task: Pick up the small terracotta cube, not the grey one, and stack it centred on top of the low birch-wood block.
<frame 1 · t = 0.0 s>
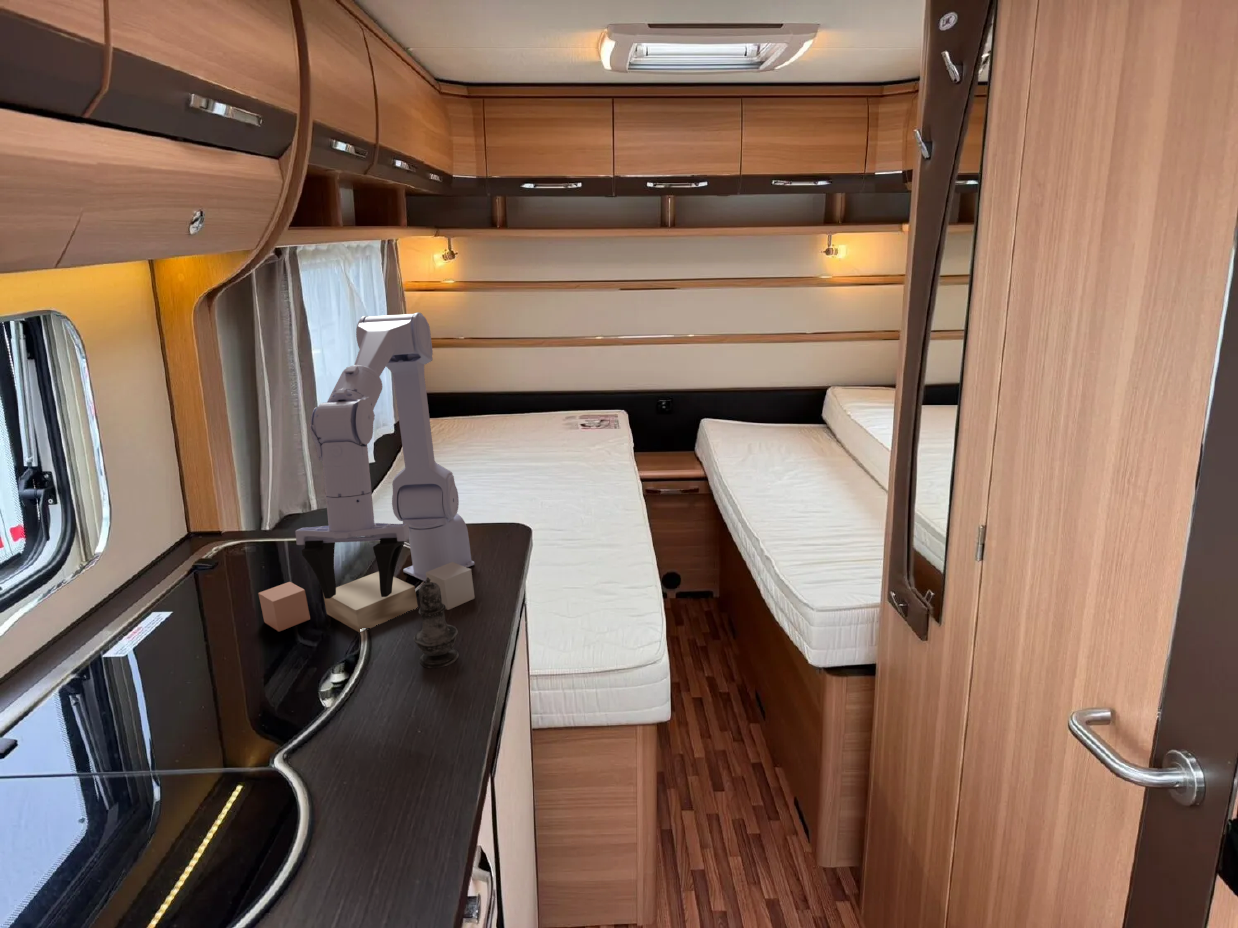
hand: (358, 595, 114), 11 cm above the table, tool pointing down, fingers open, 7 cm apart
terracotta cube: (287, 621, 132), on the table
birch block: (372, 612, 133), on the table
grey cube: (452, 600, 135), on the table
dark tall tiered piece: (439, 659, 118), on the table
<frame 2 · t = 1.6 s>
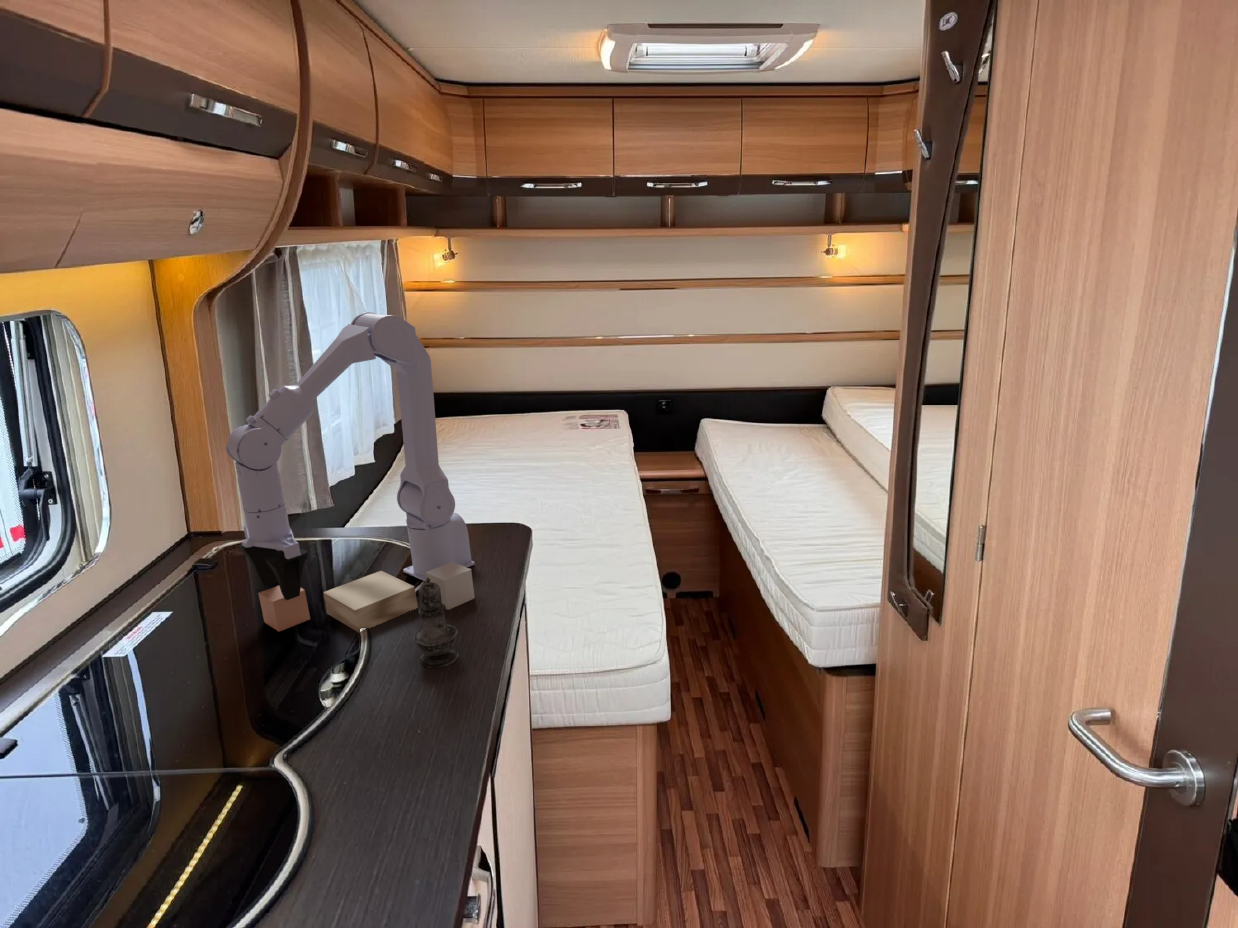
hand: (280, 590, 131), 5 cm above the table, tool pointing down, fingers open, 7 cm apart
nothing on the table moved.
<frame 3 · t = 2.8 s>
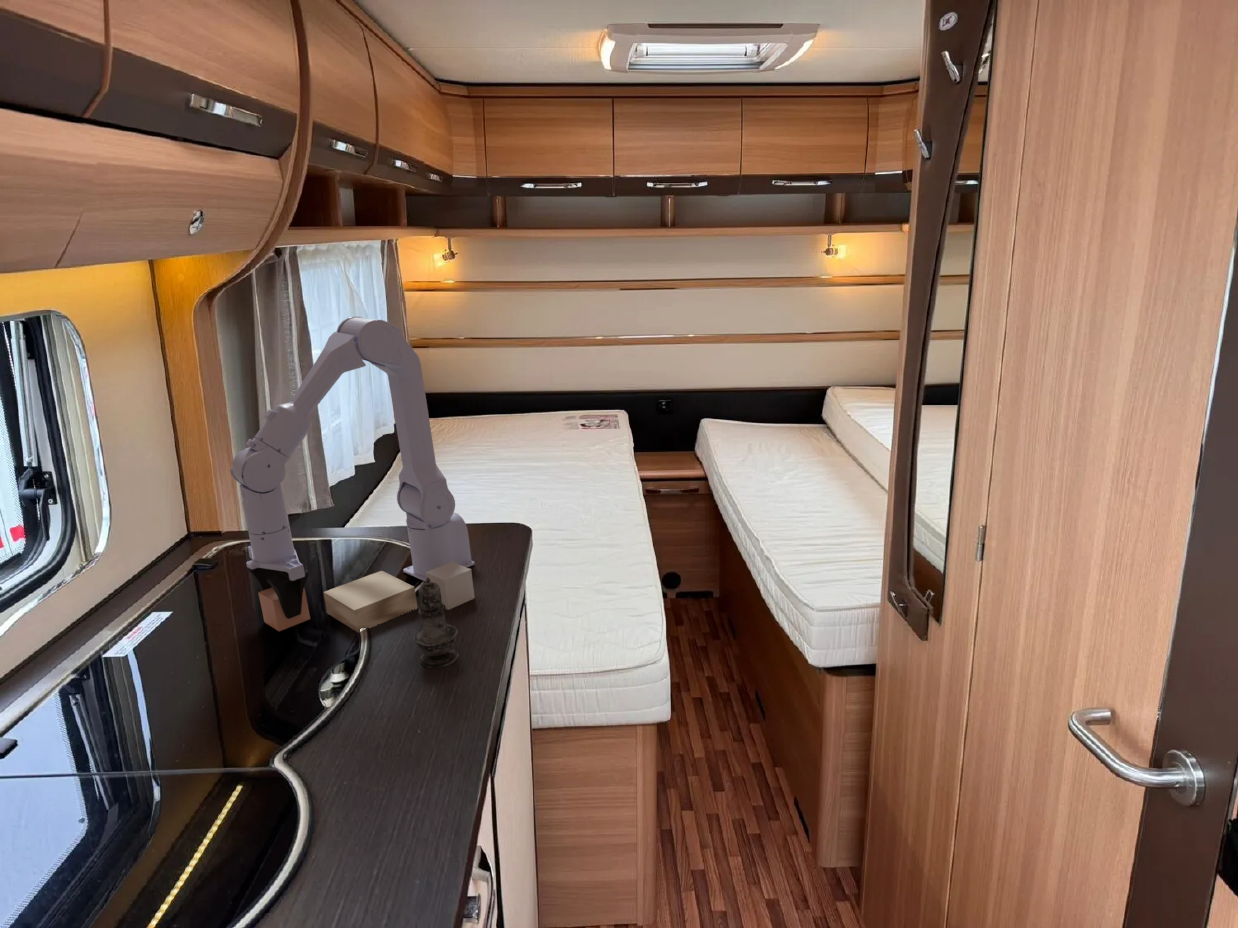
hand: (285, 610, 132), 2 cm above the table, tool pointing down, fingers closed on terracotta cube, 5 cm apart
terracotta cube: (287, 620, 132), on the table, touching gripper
everything else where it was.
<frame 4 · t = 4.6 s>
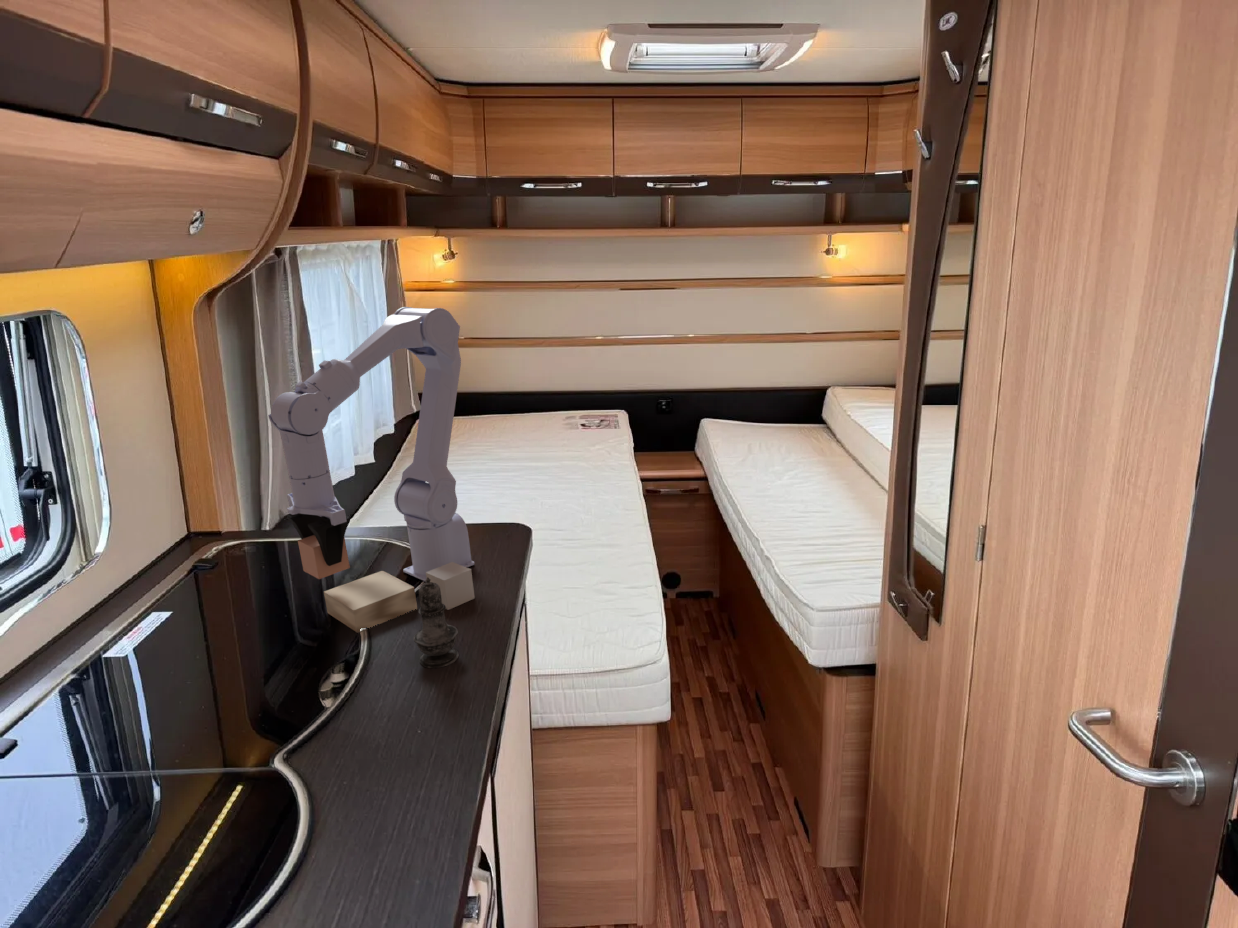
hand: (325, 558, 130), 9 cm above the table, tool pointing down, fingers closed on terracotta cube, 5 cm apart
terracotta cube: (326, 569, 131), point 8 cm above the table, touching gripper
everything else where it was.
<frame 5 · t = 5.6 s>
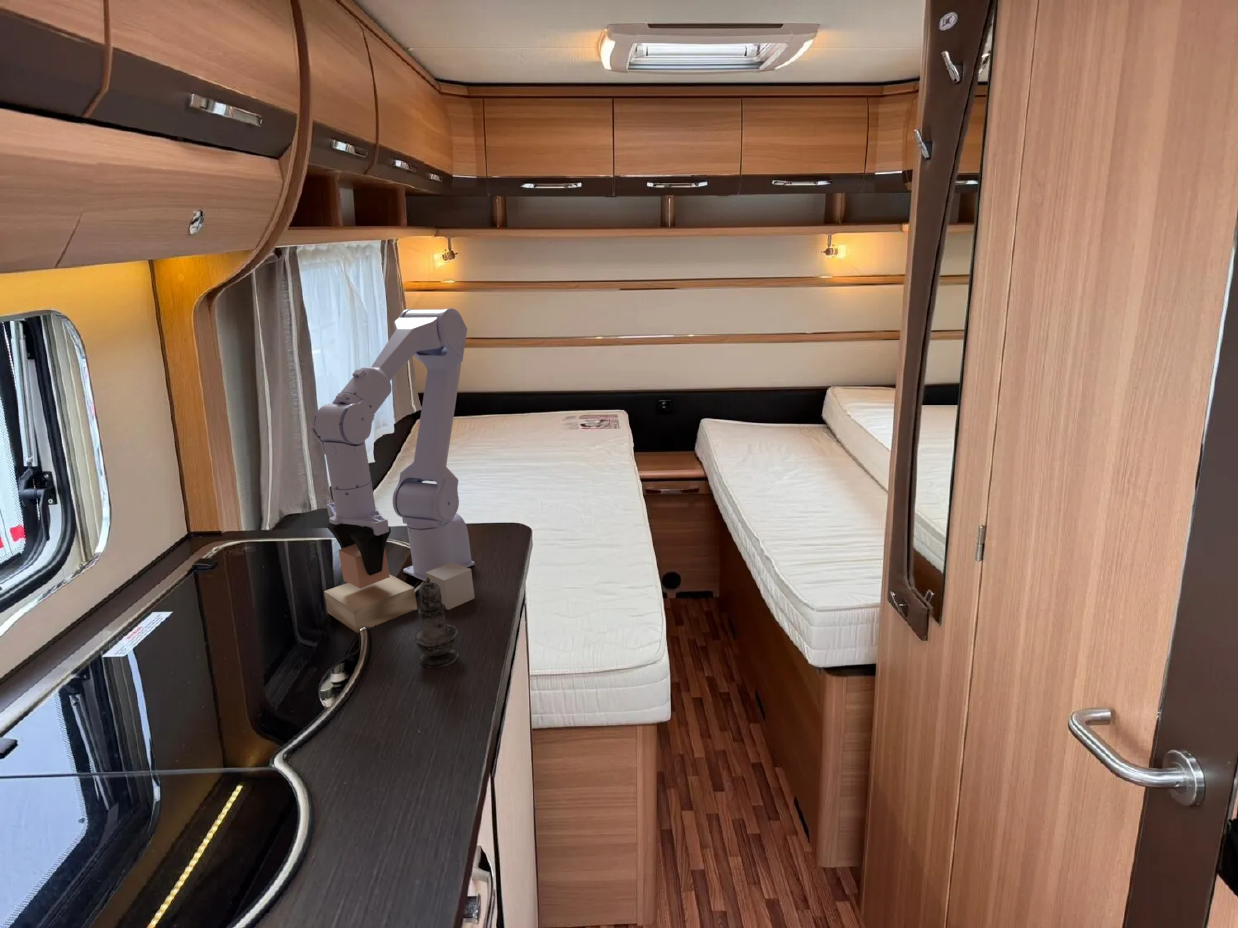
hand: (365, 568, 131), 7 cm above the table, tool pointing down, fingers closed on terracotta cube, 5 cm apart
terracotta cube: (366, 578, 132), point 5 cm above the table, touching gripper
everything else where it was.
when the fingers open (7 cm above the table, at t = 6.3 s): terracotta cube drops 2 cm, resting on birch block.
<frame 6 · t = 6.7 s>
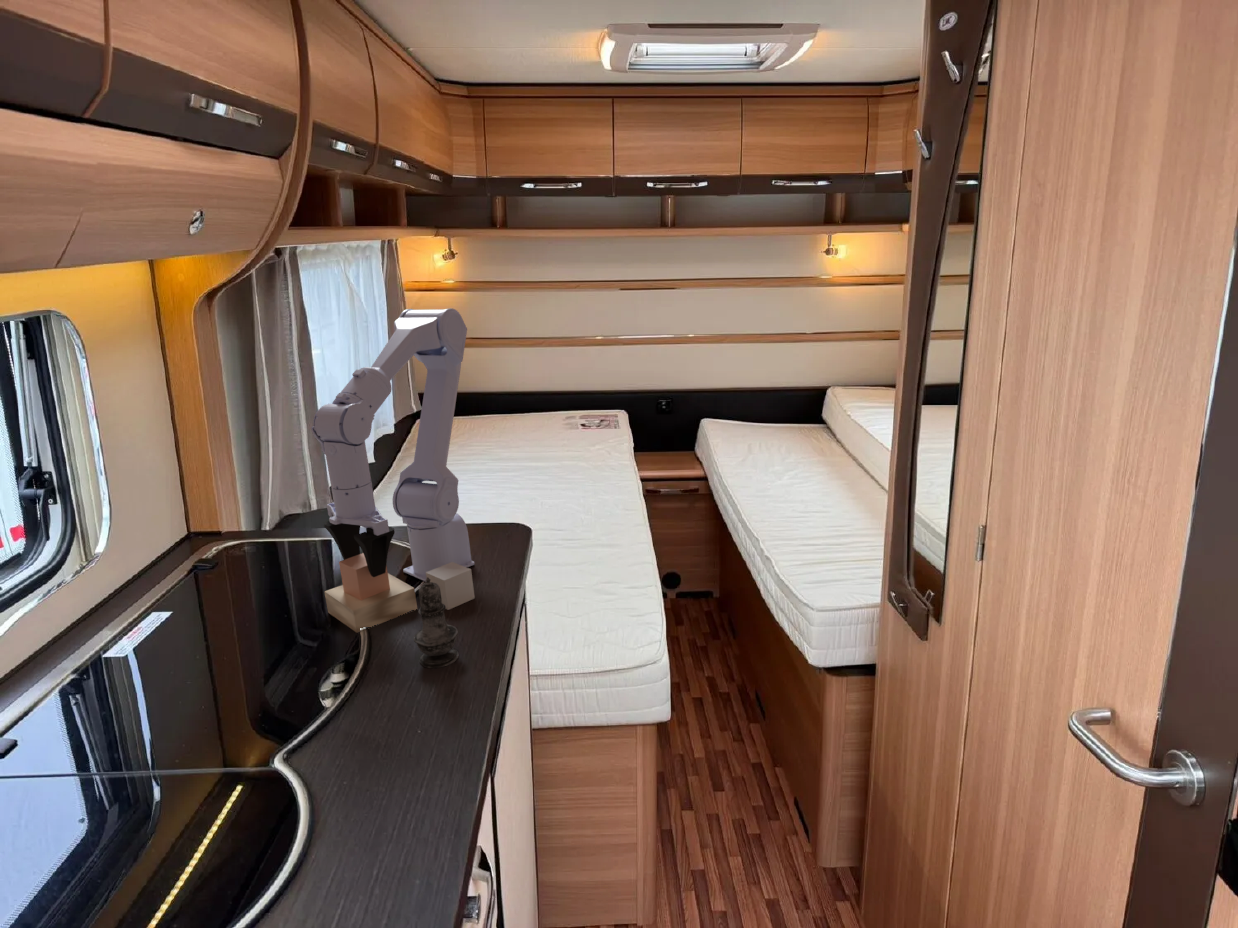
hand: (365, 568, 131), 7 cm above the table, tool pointing down, fingers open, 7 cm apart
terracotta cube: (367, 590, 132), point 4 cm above the table, touching birch block
birch block: (373, 613, 134), on the table, touching terracotta cube
everything else where it was.
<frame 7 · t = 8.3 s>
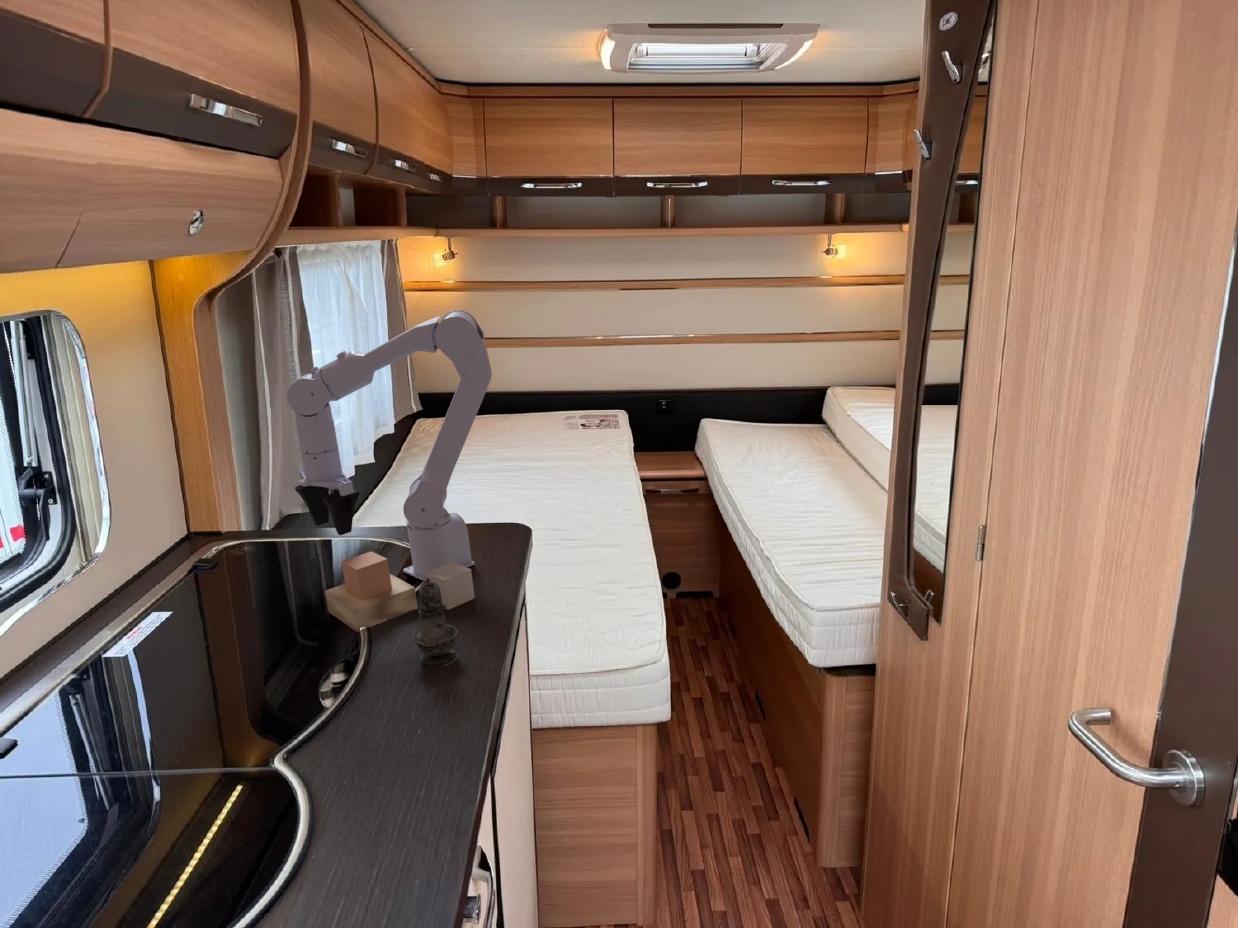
hand: (333, 528, 143), 9 cm above the table, tool pointing down, fingers open, 7 cm apart
nothing on the table moved.
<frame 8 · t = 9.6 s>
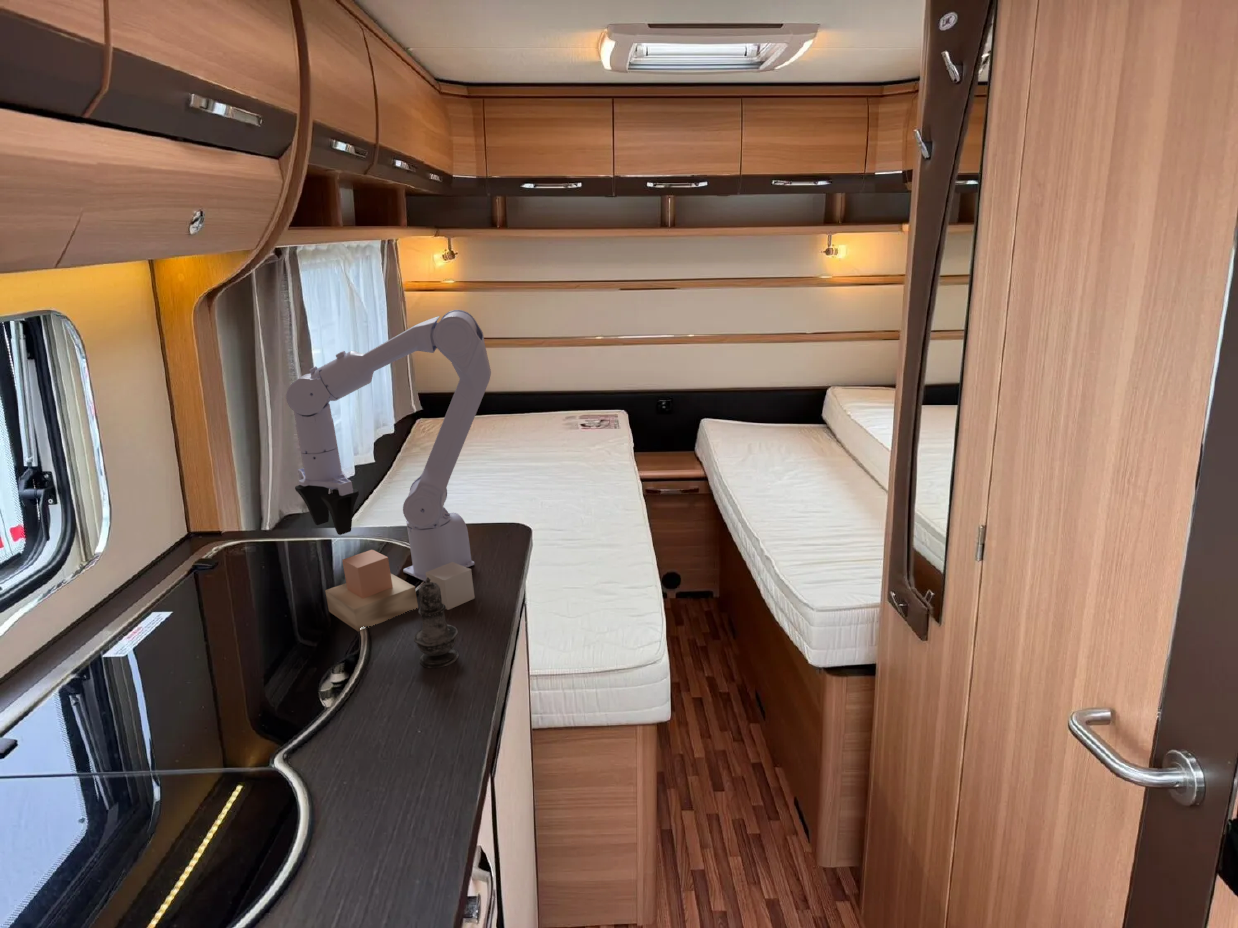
hand: (333, 527, 143), 9 cm above the table, tool pointing down, fingers open, 7 cm apart
terracotta cube: (370, 588, 133), point 4 cm above the table
birch block: (373, 612, 134), on the table
everything else where it was.
at the end: terracotta cube 0.0 cm off-centre on the birch block, point 4.0 cm above the birch block's base; terracotta cube tilted 0°; the gripper is holding nothing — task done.
